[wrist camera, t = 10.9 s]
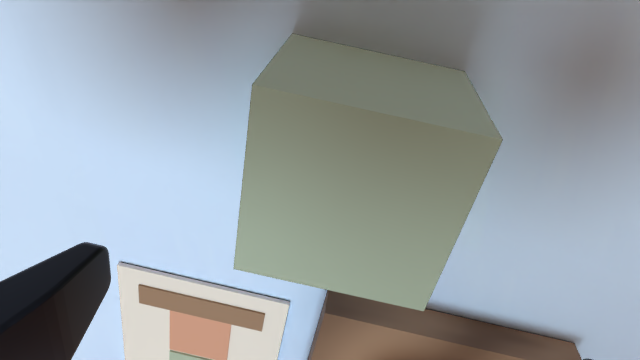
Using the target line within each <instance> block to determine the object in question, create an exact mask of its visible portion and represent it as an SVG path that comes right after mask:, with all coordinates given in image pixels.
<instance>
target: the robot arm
mask: <svg viewBox="0 0 640 360" xmlns="http://www.w3.org/2000/svg"><path fill="white" fill-rule="evenodd" d="M110 282H111V273H110V262H109V253H108V250H107V248H106V247H104V246H101V245H97V244H93V243H88V242H84V243H80V244H78V245H76V246H74V247H72V248H70V249H68V250H65V251H63V252H61V253H59V254H57V255H55V256H53V257H51V258H49V259H47V260H45V261H42V262H40V263H38V264H36V265H34V266H32V267H30V268H28V269H26V270H24V271H21V272H19V273H17V274H15V275H13V276H11V277H9V278H7V279H5V280H3V281H1V282H0V360H71V359H72V357H73V355H74V353H75V352H76V350H77V348H78V346H79V344H80V342H81V340H82V338H83V336H84V334H85V333H86V331H87V329H88V327H89V325H90V323H91V321H92V319H93V317H94V315H95V314H96V312H97V310H98V308H99V306H100V304H101V302H102V300H103V298H104V296H105V295H106V293H107V291H108V288H109V286H110ZM583 360H592V359H583Z"/></svg>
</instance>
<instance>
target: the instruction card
mask: <svg viewBox="0 0 640 360" xmlns="http://www.w3.org/2000/svg"><path fill="white" fill-rule="evenodd" d="M117 270H118V282H119V294H120V306H121V318H122V329H123V341H124V353H125V360H277V358H278V353H279V349H280V344H281V340H282V335H283V331H284V327H285V322H286V318H287V313H288V309H289V304H290V302H289V301H285V300H280V299H276V298H272V297H267V296H263V295H259V294H255V293H250V292H246V291H242V290H237V289H233V288H229V287H224V286H220V285H216V284H211V283H207V282H203V281H199V280H194V279H190V278H186V277H181V276H177V275H173V274H168V273H164V272H160V271H155V270H151V269H147V268H143V267H138V266H134V265H130V264H125V263H121V262H119V263H118V265H117Z"/></svg>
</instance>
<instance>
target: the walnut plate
mask: <svg viewBox="0 0 640 360" xmlns="http://www.w3.org/2000/svg"><path fill="white" fill-rule="evenodd" d="M308 360H582V359H581V357H580V355H579V352H578V350H577V348H576V346H575V344H574V343H571V342H567V341H562V340H558V339H554V338H549V337H545V336H541V335H537V334H532V333H528V332H524V331H519V330H515V329H511V328H506V327H502V326H498V325H493V324H489V323H485V322H480V321H476V320H472V319H468V318H463V317H459V316H455V315H450V314H446V313H442V312H437V311H433V310H429V309H425V310H424V311H420V310H415V309H411V308H406V307H402V306H397V305H393V304H388V303H384V302H379V301H375V300H370V299H366V298H362V297H357V296H353V295H348V294H344V293H339V292H335V291H330V290H328V291H327V294H326V298H325V301H324V304H323V308H322V311H321V315H320V318H319V322H318V325H317V329H316V332H315V336H314V339H313V343H312V346H311V350H310V353H309V357H308Z"/></svg>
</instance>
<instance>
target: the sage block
mask: <svg viewBox="0 0 640 360" xmlns="http://www.w3.org/2000/svg"><path fill="white" fill-rule="evenodd" d="M502 140H503V139H502V137H501V136H500V134H499V132H498V130H497V128H496V127H495V125H494V123H493V121H492V119H491V118H490V116H489V114H488V112H487V111H486V109H485V107H484V105H483V103H482V102H481V100H480V98H479V96H478V94H477V93H476V91H475V89H474V87H473V85H472V84H471V82H470V80H469V78H468V76H467V75H466V73H465V71H460V70H456V69H451V68H447V67H442V66H438V65H433V64H429V63H424V62H419V61H415V60H410V59H406V58H401V57H397V56H392V55H387V54H383V53H378V52H374V51H369V50H365V49H360V48H356V47H351V46H346V45H342V44H337V43H333V42H328V41H324V40H319V39H314V38H310V37H305V36H301V35H296V34H291V36H290V37H289V38H288V40H287V41H286V42H285V43H284V45H283V46H282V47H281V48H280V50H279V51H278V52H277V54H276V55H275V56H274V57H273V59H272V60H271V61H270V63H269V64H268V65H267V66H266V68H265V69H264V70H263V71H262V73H261V74H260V75H259V77H258V78H257V79H256V80H255V82H254V83H253V84H252V92H251V101H250V111H249V121H248V131H247V141H246V151H245V160H244V170H243V180H242V190H241V200H240V210H239V219H238V229H237V239H236V249H235V259H234V269H236V270H241V271H245V272H250V273H254V274H259V275H263V276H267V277H272V278H276V279H281V280H285V281H290V282H294V283H299V284H303V285H308V286H312V287H317V288H321V289H326V290H330V291H335V292H339V293H344V294H348V295H353V296H357V297H362V298H366V299H370V300H375V301H379V302H384V303H388V304H393V305H397V306H402V307H406V308H411V309H415V310H420V311H424V310H425V308H426V305H427V303H428V301H429V299H430V297H431V295H432V292H433V290H434V288H435V286H436V284H437V282H438V279H439V277H440V275H441V273H442V271H443V268H444V266H445V264H446V262H447V260H448V258H449V255H450V253H451V251H452V249H453V247H454V245H455V242H456V240H457V238H458V236H459V234H460V231H461V229H462V227H463V225H464V223H465V221H466V218H467V216H468V214H469V212H470V210H471V208H472V205H473V203H474V201H475V199H476V197H477V195H478V192H479V190H480V188H481V186H482V184H483V181H484V179H485V177H486V175H487V173H488V171H489V168H490V166H491V164H492V162H493V160H494V158H495V155H496V153H497V151H498V149H499V147H500V145H501V142H502Z"/></svg>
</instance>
